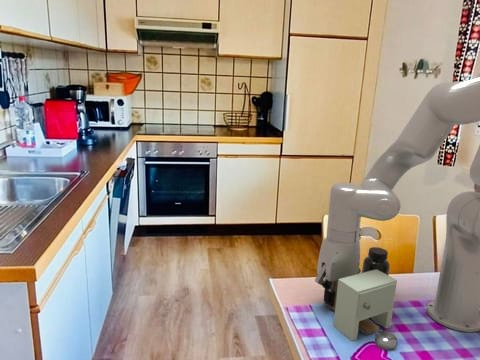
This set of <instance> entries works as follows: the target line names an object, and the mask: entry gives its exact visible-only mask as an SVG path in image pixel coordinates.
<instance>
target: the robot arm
mask: <svg viewBox="0 0 480 360" xmlns="http://www.w3.org/2000/svg"><path fill="white" fill-rule="evenodd" d="M477 122H480V73H478V75H477V77H474V78H471V79H467V80H461V81H445V82H440V83H438V84H435V85H434V86H433V87H431V89H430V90H429V91H428V92H427V93H426V94H425V96H424V97H423V99H422V101H421V102H420V104H419V105H418V107H417V108H416V110H415V112H414V113H413V114H412V116H411V117H410V119H409V121H408V122H407V123H406V125H405V127H404V128H403V130H402V132H401V133H400V134H399V136H398V137H397V139H396V140H395V141H394V142H393V143H392V144H391V145H390V146H389V147H388V148H387V149H386V150H385V151H384V153H382V154H381V155H380V156H379V158H377V160H376V161H375V162H374V164H373V166H371V168H370V169H369V171H368V172H367V174H366V176H365V178H363V180H362V181H361V184H360V185H359V184H356V183H352V182H345V181H344V182H336V183H334V184H333V185H332V186H331V188H330V194H329V203H328V215H327V216H328V217H327V226H326V237H323V239H322V242H321V246H320V250H319V254H318V255H319V256H318V262H317V267H316V268H317V269H316V272H317V275H316V276H315V279H314V281H315V283H317V284H318V285H320V286H321V287H322V288H324V292H323V303H324V302H326V303H327V304H328V305H330V306H331V307H332V306H334V298H335V292H334V291H333V290H334V287H335V283H336V280H338V279H341V278H345V277H349V276H353V275H356V274H360V273H362V271H361V268H360V263H361V262H360V261H361V245H360V244H361V243H360V242H361V241H360V232H361V221H362V220H361V219H362V218H365V219H369V220H370V219H371V220H375V221H381V222H382V221H383V222H385V221H389V220H393V219H394V218H396V216H398V214H399V212H400V210H401V201H400V199H399V196H398V195H397V194H396V193H395V192H394V191H393V189H394V188H395V186H396V185H397V184H398V182H399V181H400V179H401V178H402V177H403V176H404V175H405V174H406V173H407V172H409V170H411V169H412V168H414V167H416V166H419V165H423V164H425V163H426V162H428V161H430V160H431V159H432V158H434V156H435V155H436V153H437V152H438V150H439V148H441V146H442V144H443V143H444V141H445V140H446V139H447V137H448V136H449V134H450V133H451V132H452V130H453V129H454V127H455V126H456V125H457V126H458V125H459V126H461V125H462V126H463V125H468V124H473V123H477ZM470 165H471V166H470V167H469V176H470V179H471V180H472V182H473V183H475V185H477V186H478V187H480V144H479V146H478V148H477V151H476V153H475V155H474V157H473V160H472V162H471V164H470ZM445 220H446V221H445V223H446V225H445V226H446V229H445V230H446V231H445V242H444V250H443V255H442V258H441V263H440V272H439V276H438V277H439V278H438V283H437V290H436V295H435V299H433V300H431V301H429V302H428V303H427V306H426V311H427V314H428V315H429V317H430V318H431V319H432V320H434V322H437V323H438V324H440V325H442V326H444V327H446V328H449V329H452V330H456V331H459V332H465V333H466V332H467V333H473V332H476V333H477V332H478V331H480V192H476V191H463V192H461V193H458V194H457V195H455V196H454V197H453V198H452V199H451V200H450V202H449V204H448V206H447V210H446V218H445ZM329 281H330V285H329V284H328V283H329Z"/></svg>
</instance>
